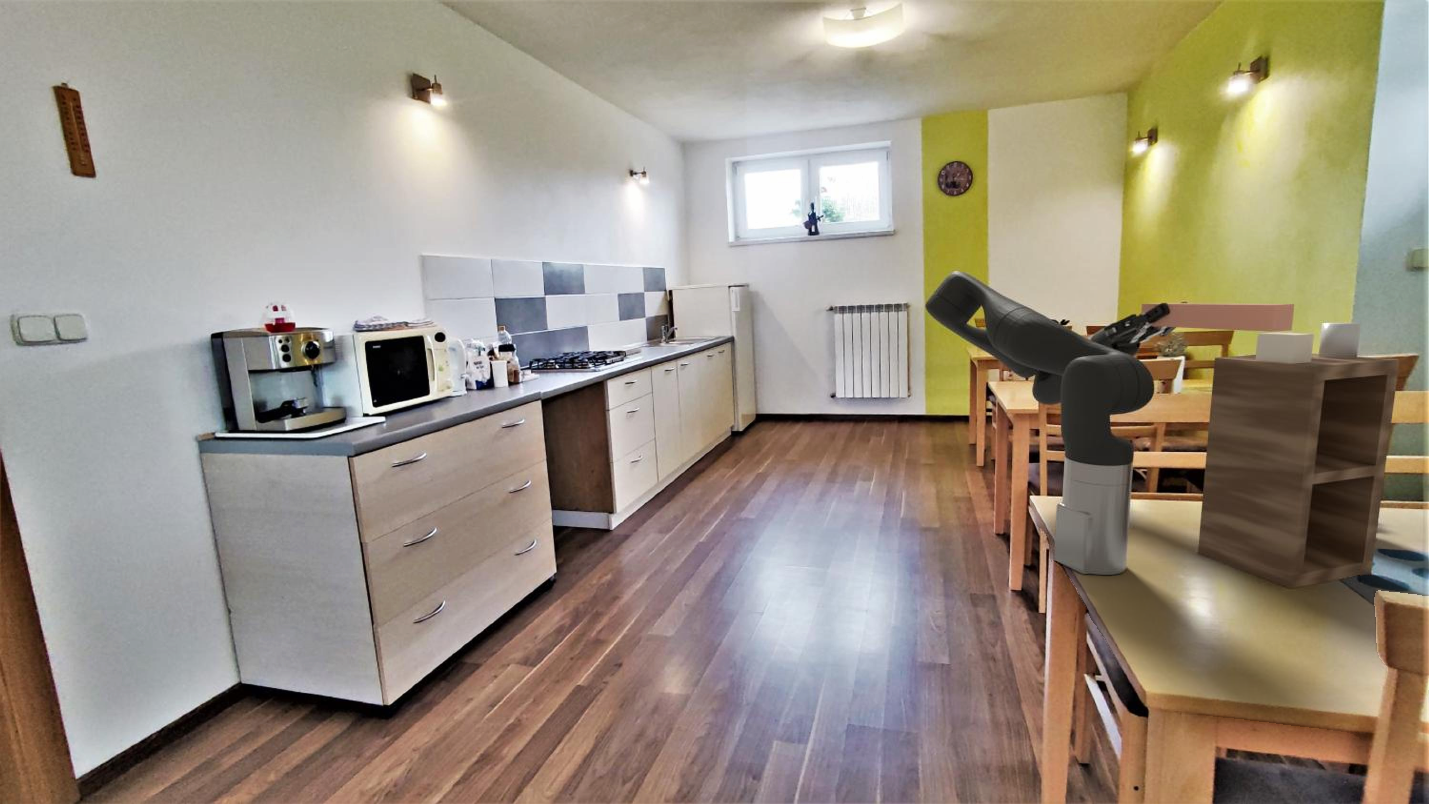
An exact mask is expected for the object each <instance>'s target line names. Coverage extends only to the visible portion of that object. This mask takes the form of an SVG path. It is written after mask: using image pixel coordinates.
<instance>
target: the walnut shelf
mask: <svg viewBox="0 0 1429 804" xmlns="http://www.w3.org/2000/svg"><path fill="white" fill-rule="evenodd" d="M1318 356H1319V353H1313V352H1312V357H1311V362H1307V363H1294V364H1290V363H1278V362H1267V361H1255V358H1256V354H1248V355H1247V354H1246V355H1236V356H1235V355H1233V356H1221V357H1218V356H1217V357H1214V362H1213V363H1214V364H1213V376H1212V377H1213V378H1212V388H1211V399H1210V407H1209V408H1210V411H1209V421H1208V430H1207V432H1208V434H1207V443H1206V456H1205V467H1204V477H1203V480H1204V481H1203V488H1202V489H1203V490H1202V498H1201V499H1202V502H1201V512H1200V513H1201V514H1200V525H1199V536H1198V537H1199V538H1198V546H1197V554H1200V555H1202V556H1205V557H1207V558H1209V559H1212V560H1215V561H1217V562H1220V563H1223V564H1225V565H1227V566H1230V567H1233V568H1236V569H1237V570H1238V569H1239V570H1241V571H1244V572H1246V573H1249V574H1252V575H1254V576H1256V577H1259V578H1262V579H1265V580H1267V581H1269V582H1272V583H1275V584H1276V585H1280V586H1282V587H1286V588H1288V589H1289V590H1290V589H1296V588H1300V587H1301V588H1302V587H1306V586H1312V585H1317V584H1322V583H1326V582H1327V583H1328V582H1331V581H1332V582H1334V581H1338V580H1343V578H1344V579H1348V578H1347V577H1349V578H1352V577H1351V576H1355V577H1358V576H1357V575H1360V576H1365V575H1369V574H1372V571H1373V562H1374V555H1375V550H1376V549H1375V547H1376V541H1377V534H1378V525H1379V520H1380V519H1379V518H1380V510H1381V502H1382V496H1383V495H1382V494H1383V490H1384V489H1383V486H1384V480H1385V472H1386V463H1387V457H1388V450H1389V443H1390V442H1389V441H1390V437H1391V436H1390V435H1391V434H1390V433H1391V427H1392V419H1393V411H1394V405H1395V397H1396V388H1397V383H1398V382H1397V381H1398V374H1399V367H1400V359H1397V358H1382V357H1381V358H1380V357H1368V356H1367V357H1366V356H1357V358H1350V359H1340V358H1322V357H1318Z"/></svg>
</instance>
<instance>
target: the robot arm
mask: <svg viewBox="0 0 1429 804" xmlns="http://www.w3.org/2000/svg"><path fill="white" fill-rule="evenodd" d="M1160 303H1161V304H1159V305H1158V306H1156V307H1154V308H1153V309H1151V310H1150V311H1148V312H1142V313H1139V314H1138V315H1137V314H1135V313H1133V314H1130V315H1128V316H1126V317H1123V318H1122V319H1120V320H1118V321H1116V322H1112V323H1111V322H1110V323H1109V324H1107V325H1106V326H1105V327H1103V328H1101V329H1099V330H1098V331H1097V332H1095V333H1093V334H1092V335H1090V336H1089V337H1087V338H1086V337H1085V336H1082V335H1081V334H1079V333H1077V332H1076V331H1073V330H1071V329H1070V328H1068V327H1067V326H1064V325H1062V324H1060V323H1059V322H1056V321H1054V320H1053V319H1051V318H1049V317H1047V316H1046V315H1044V314H1042V313H1040V312H1038V311H1036V310H1035V309H1032V308H1030V307H1028V306H1026V305H1024V304H1021V303H1019V302H1017V301H1015V300H1013V299H1011V298H1008V297H1007V296H1005V295H1003V294H1001V293H1000V292H998V291H997V290H995V289H993V288H992V287H990V286H989V285H987V284H985V283H984V282H982V281H980V280H979V279H978V278H976V277H974V276H973V275H970V274H969V273H967V272H964V271H960V270H955V271H952V272H951V273H950V274H949V275H947V276H946V278H944V280H943V281H942V282H941V283H940V284H939V286H938V287H937V288H936V290H935V291H934V292H933V293H932V295H931V296H930V297H929V298H928V300H927V301H926V302H925V309H926V311H927V313H928V314H929V315H930V316H931V317H932V318H933V319H934V320H936V321H937V322H938V323H939V324H941V326H944V328H946V329H948V330H949V331H951V332H952V333H954V334H956V335H957V336H959V337H960V338H961V339H963V340H965V341H966V342H968V343H970V344H972V345H973V346H975V347H976V348H978V349H979V350H981V351H984V352H985V353H987V354H988V355H990V356H991V357H993V358H995V359H996V360H998V361H999V362H1000V363H1001V364H1002V365H1004V366H1005V367H1007V368H1008V369H1009V370H1010V371H1011V372H1013V373H1014V374H1015V375H1017V376H1018V377H1020V378H1024V379H1029V378H1033V377H1034V378H1033V379H1034V380H1033V383H1032V389H1031V393H1032V397H1033V398H1034V399H1035V401H1037V402H1038V403H1039V404H1042V405H1047V406H1052V405H1053V406H1054V405H1058V404H1060V434H1061V439H1062V441H1063V445H1064V467H1063V483H1062V484H1063V485H1062V502H1059V503H1057V505H1056V513H1055V514H1056V515H1055V536H1054V552H1053V553H1054V554H1053V558H1054V559H1053V560H1054V561H1055V562H1058V563H1060V564H1062V565H1063V566H1066V567H1068V568H1070V569H1072V570H1074V571H1075V572H1077V573H1079V574H1081V575H1086V574H1091V575H1092V574H1093V575H1102V576H1103V575H1105V576H1109V575H1111V576H1112V575H1118V574H1121V573H1124V572H1125V571H1126V569H1127V555H1128V543H1129V542H1128V541H1129V526H1130V513H1131V512H1130V510H1131V498H1132V497H1131V496H1132V481H1133V468H1134V458H1135V457H1134V456H1135V447H1134V443H1132V442H1131V441H1130V440H1128V439H1126V438H1123V437H1121V436H1116V435H1115V434H1113V432H1112V428H1111V416H1115V415H1125V414H1129V413H1134V412H1136V411H1139V410H1141V409H1143V408H1144V407H1146V406H1147V405H1148V404H1149V403H1150V401H1151V400H1152V398H1153V397H1154V395H1155V394H1154V393H1155V382H1154V378H1153V375H1152V374H1151V371H1150V369H1148V367H1147V366H1146V365H1145V364H1144V363H1143V362H1142V361H1141V360H1140V359H1139V358H1137V357H1135V356H1136V355H1137V354H1138V353H1139V351H1140V347H1141V343H1142V344H1143V343H1146V342H1148V341H1150V340H1151V339H1152V338H1154V337H1155V336H1158V335H1159V337H1160V338H1164V337H1166V336H1168V335H1169V334H1170V333H1172V332H1173V331H1174V330H1175V329H1176V328H1177V327H1159V326H1150V325H1152V323H1154V322H1156V321H1158V320H1160V319H1161V318H1163V317H1165V316H1166V315H1168V314H1169V313H1170V309H1169V307H1168V305H1167V303H1168V302H1160ZM1180 303H1188V302H1187V301H1182V302H1180ZM981 307H982V310H983V315H984V325H985V328H979V327H975V326H973V325H970V324H969V323H968V322H969V321H970V320H971V319H972V318H973V316H974V315H976V313H977V312H978V311H979V310H980V308H981Z"/></svg>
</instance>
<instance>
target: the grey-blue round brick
mask: <svg viewBox="0 0 1429 804" xmlns="http://www.w3.org/2000/svg"><path fill="white" fill-rule="evenodd" d="M1361 326H1362V323H1361V322H1322V323H1321V331H1320V339H1319V341H1320V342H1319V348H1318V349H1319V350H1318V354H1319V356H1318V357H1322V358H1340V359H1350V358H1357V357H1358V351H1359V342H1360V333H1361Z"/></svg>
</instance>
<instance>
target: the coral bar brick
mask: <svg viewBox="0 0 1429 804" xmlns="http://www.w3.org/2000/svg"><path fill="white" fill-rule="evenodd" d="M1161 303H1162V302H1151V303H1149V302H1147V303H1141V309H1140V310H1141V313H1142V312H1148V311H1150V310H1151V309H1153V308H1154V307H1156V306H1158V305H1159V304H1161ZM1166 303H1167V305H1168V307H1169V309H1170V313H1169V314H1168V315H1166V316H1165V317H1163V318H1161V319H1160V320H1158V321H1156V322H1154V323H1152V325H1150V326H1154V327H1155V326H1159V327H1176V328H1183V329H1184V328H1186V329H1188V328H1189V329H1207V330H1227V331H1245V332H1246V331H1251V332H1266V333H1273V332H1286V331H1287V332H1288V331H1292V330H1293V329H1292V328H1293V321H1294V313H1295V312H1294V310H1295V304H1294V303H1225V302H1224V303H1222V302H1221V303H1220V302H1218V303H1214V302H1213V303H1209V302H1208V303H1207V302H1206V303H1204V302H1203V303H1202V302H1200V303H1199V302H1198V303H1197V302H1195V303H1194V302H1193V303H1192V302H1187V303H1181V302H1166ZM1141 313H1140V314H1141Z"/></svg>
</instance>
